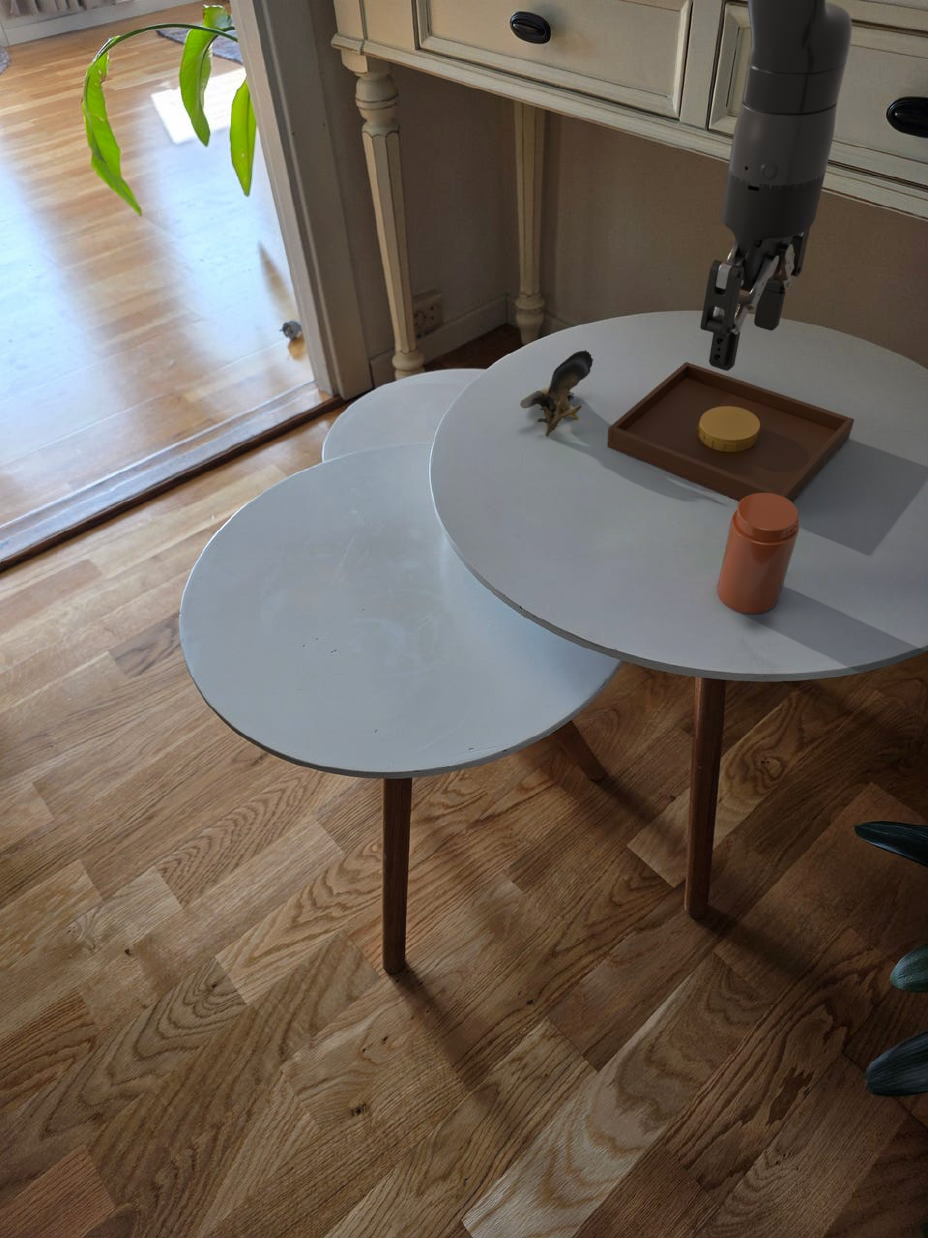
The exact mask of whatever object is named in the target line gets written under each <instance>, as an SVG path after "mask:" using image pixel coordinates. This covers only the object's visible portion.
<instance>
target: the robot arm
mask: <svg viewBox="0 0 928 1238" xmlns="http://www.w3.org/2000/svg"><path fill="white" fill-rule="evenodd" d="M747 10H748V19H749V28H750V29H749V31H750V46H749V51H748V55H747V56H748V57H747V63H746V69H745V76H744V81H743V82H744V83H743V90H742V96H741V97H742V98H741V102H740V108H739V111H738V115H737V118H736V122H735V126H734V129H733V134H732V141H731V147H730V148H731V149H730V155H729V163H728V168H727V176H726V181H725V190H724V196H723V203H722V208H721V219H722V222H723V224H724V226H726V228H728V229H729V230H730V231H731V232H732V233H733V235H734V238H735V239H734V241H733V245H732V248H731V250H730V253H729V254H728V256H727V259H726V261H722V260H717V259H715V260H713V261H712V263H711V266H710V267H709V273H708V274H709V275H708V279H707V285H706V290H705V297H704V303H703V307H702V314H701V320H700V326H699V327H700V330H702V331H706V332H710V333H712V339H711V345H710V350H709V351H710V353H709V358H708V362H709V364H710V366H711V367H713V368H716V369H719V370H723V371H726V372H729V371H730V370H731V369H733V367H735V365H736V359H737V353H738V347H739V342H740V337H741V336H740V335H741V329H742V327H743V324H744V322H745V320H746V317H747V315H748V313H749V312H750V311H751V310H754V309H755V308H756V309H755V314H754V319H753V323H754V325H755V326H756V327H757V328H760V329H764V330H768V331H774V330H776V328H777V327H779V325H780V320H781V315H782V310H783V305H784V302H785V296H786V292H788V291H789V290H790V288H791V287H792V283H793V277H796V278H797V277H799V276H800V274H801V273H802V271H803V265H804V260H805V254H806V250H807V244H808V239H809V235H810V230H811V227H812V226H813V224H814V223H815V220H816V218H817V217H816V216H817V212H818V209H819V208H818V207H819V202H820V198H821V194H822V190H823V186H824V181H825V176H826V172H827V167H828V163H829V162H828V161H829V159H830V154H831V149H832V145H833V140H834V134H835V127H836V117H837V108H838V102H839V101H838V100H839V97H840V93H841V90H842V89H841V88H842V84H843V79H844V75H845V70H846V67H847V63H848V62H847V61H848V58H849V52H850V47H851V40H852V34H853V33H852V32H853V23H852V22H853V21H852V18H851V16H850V13H849V12H848V11H847V10H846V9H845V8H843V7H842V6H840V5H838V4H836V3H833V2H829V1H827V0H747ZM793 254H794V258H793ZM741 291H744V292H747V293H748V294H747V295H743V294H740V293H741ZM737 306H738V307H737ZM737 308H738V309H737Z"/></svg>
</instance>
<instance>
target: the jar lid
mask: <svg viewBox="0 0 928 1238" xmlns="http://www.w3.org/2000/svg"><path fill="white" fill-rule="evenodd" d="M759 429H760V422H759V419H758V418H757V417H756V416H755V415H754V414H753V413H751V412H749V411H748V410H745V409H742V408H738V407H732V406H722V407H716V408H713V409H710V410H708V411H707V412H705V413H704V414H703V415H702V417H701V419H700V422H699V427H698V430H699V432H698V436H699V438H700V439H701V441H702V443H704V444H705V445H707V446H708V447H710V448H712V449H715V450H718V451H722V452H739V451H743V450H746V449H748V448H750V447H752V446H754V444H755V443H756V441H757V439H758V438H759V433H760V431H759Z"/></svg>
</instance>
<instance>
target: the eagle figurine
mask: <svg viewBox="0 0 928 1238" xmlns="http://www.w3.org/2000/svg"><path fill="white" fill-rule="evenodd" d="M593 361H594V359H593V357H592V354H591V353H590V352H589V351H588V350H579V351H576V352H573V354H571V355H570V356H569V357H568V358H566V359H565V360H563V361H562V362H561V363H560V364H559V365H558V366H557V367H556V368H555V369H554V371H553V372H552V374H551V375H552V376H551V380H550V382H549V383H550V384H549V385H548V386H547V387H544V388H542V389H540V390H536V391H534V392H532V393H529V394H528V395H526V396H524V397H522V398H521V399H520V402H519V406H520V407H521V408H522V409H529V408H532V407H533V406H536V405H537V406H540V407H539V410H540V411H542V412H543V414H544V417H545V418H544V417H539V418H538V419H536V422H538V423H545V424H546V431H545V437H549V436H550V435H551V433H552V432H553V431H555V430H556V428H557V427H558V424H559V423H560V422H561V421H562V420H563V419H565V418H567V417H569V416H570V417H572V418H574V419H576V420H579V417H578V414H577V413H578V412H579V411H580V409H581V408H582V407H583V406H582V405H581V404H578V405H577V406H575V407H574V406H573V405H572V404H571V403H570V402H569V399H568V397H569V396H574V395H575V393H574V392H571V390H573V388H575V387H577V386H578V385H579V383H580V382H581V381H582V380H584V379H585V378H587V377H588V376H589V375H590V373H591V368H592V366H593Z"/></svg>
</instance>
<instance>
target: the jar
mask: <svg viewBox="0 0 928 1238" xmlns="http://www.w3.org/2000/svg"><path fill="white" fill-rule="evenodd" d="M799 522H800V519H799V510H798V508H797V506H796V505H795V504H794V502H791V501H790V500H788V499H786V498H785V497H782V496H780V495H777V494H772V493H756V494H752V495H749V496H746V497H745V498H743V499H741V500H740V501H738V502H737V508H736V510H735V511H734V512H733V514H732V516H731V520H730V525H729V529H728V533H727V539H726V544H725V549H724V552H723V557H722V563H721V567H720V572H719V577H718V582H717V587H716V588H717V589H716V590H717V596H718V597H719V599H720V601H721V602H722V603H723V604H724V605H725V606H727V607H728V608H729V609H731V610H733V611H736V612H739V613H742V614H747V615H759V614H763V613H766V612H769V611H771V610H772V609H774V608H775V607H776V606H777V605H778V604H779V601H780V597H781V594H782V590H783V587H784V584H785V581H786V577H787V574H788V569H789V566H790V563H791V560H792V556H793V552H794V548H795V545H796V541H797V538H798V535H799V532H800V523H799Z"/></svg>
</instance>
